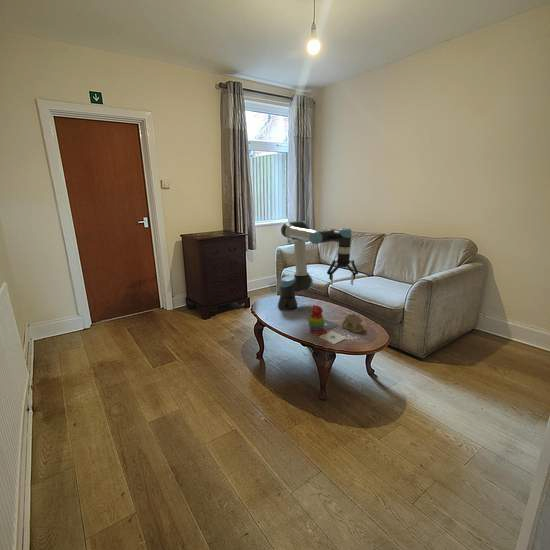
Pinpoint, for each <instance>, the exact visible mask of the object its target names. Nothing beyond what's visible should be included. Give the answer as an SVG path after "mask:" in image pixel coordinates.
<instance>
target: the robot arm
mask: <svg viewBox="0 0 550 550" xmlns="http://www.w3.org/2000/svg"><path fill="white" fill-rule="evenodd" d="M309 225H310V224H309V223H308V222H307V221H305V220H298V221H296V220H295V221H286V222H285V223H284V224H282V226H281V227H280V232H281V235H282V237H284V238H288V239H291V240H292V241H293V244H294V248H293V249H294V260H295V264H294V265H295V272H294V275H286V276H284V277H281V278H280V281H279V300H278V302H277V308H278V309H279V310H282V311H293V310H296V309H297V308H298V302H297V299H296V293H300V292H306V291H309V290H310V289H311V288H312V287H313V282H314V280H313V277H312V275H310V273H309V272H308V267H307V245H306V244H307V243H306V242H310V243H311V244H312V245H314V244H315V245H318V244H324V243H331V242H334V243H335V242H336V243H338V249H337V252H338V253H337V260H335V259H333V260H332V262H331V265H330V266H329V267H328V270H327V272H326V274H327V275H329V280H330V285H331V286H333V284H334V273H336V271H337V270H338V269H340V268H347V269H348V270H349V271H350V272H351V275H350V285H352V286H354V280H355V279H356V275H359V271H358V269H357V267H356V265H355V260H354V259H351V258H350V257H351V254H350V253H351V245H352V229H351V228H348V227H347V228H345V227H343V228H339V230H338V229H334V228H333V229H331V228H328V229H327V230H322V231H321V230H320V231H318V230H314V229H311V228H310V226H309ZM350 259H351V260H350ZM349 264H351V265H352V267H351V266H350V265H349ZM352 268H353V269H352Z"/></svg>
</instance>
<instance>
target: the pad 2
mask: <svg viewBox="0 0 550 550" xmlns="http://www.w3.org/2000/svg"><path fill="white" fill-rule="evenodd" d="M318 336H319V337H318V338H319V339H321V340H324V341H326V342H328V343H330V344H332V345H336V344H338V343H340V342H342V341H344V340H346V339H347V338H348V337H346V336H344V335H342V334H339V333H337V332H335V331H334V330H333V331H332V330H330V331H329V332H328V331H327V333H326V334H322V335H318Z"/></svg>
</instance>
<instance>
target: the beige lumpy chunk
mask: <svg viewBox="0 0 550 550" xmlns="http://www.w3.org/2000/svg"><path fill="white" fill-rule="evenodd" d="M362 322H363V319H362V318H361V317H360V316H359V315H356V314H355V313H351V314H350V313H348V314H347V315H345V318H344V320H343V321H342V323H341V327H342V328H344V329H346V330H349V331H351V332H354V333H360V332H361V333H362V332H363V327H364V326H363V325H362Z"/></svg>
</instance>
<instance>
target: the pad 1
mask: <svg viewBox="0 0 550 550" xmlns="http://www.w3.org/2000/svg"><path fill="white" fill-rule="evenodd" d="M323 320H324V326H323V329H325V330H327V331H329V330H331V329H333V328H336V327H337V326H339V324H337V323H335V322H332V321H330V320H328V319H326V318H325V319H324V318H323Z"/></svg>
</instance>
